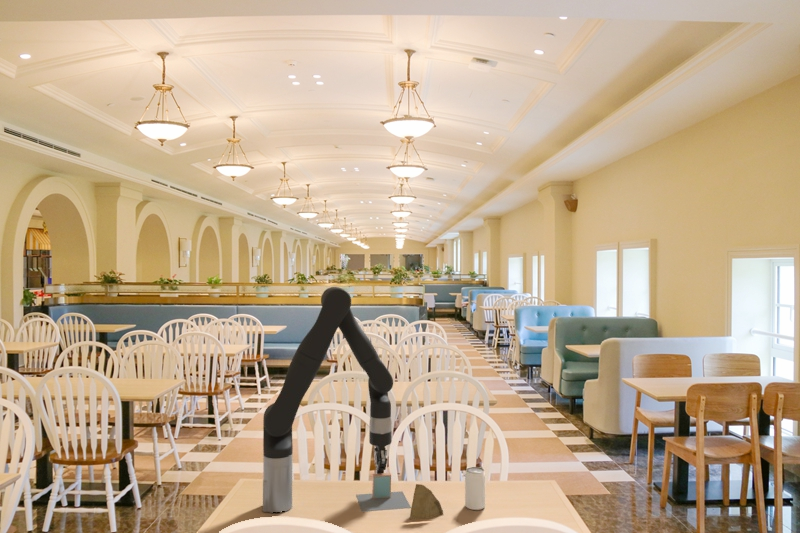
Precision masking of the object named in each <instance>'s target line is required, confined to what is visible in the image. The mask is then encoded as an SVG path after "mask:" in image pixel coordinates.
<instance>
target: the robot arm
mask: <svg viewBox="0 0 800 533" xmlns="http://www.w3.org/2000/svg"><path fill="white" fill-rule="evenodd" d="M320 305H321V308H320V310H319V314H318V316H317V318H316V321H315V322H314V324H313V326H312V327H311V329H310V330H309V331H308V332H307V334H306V335H305V336H304V337H303V339H302V340H301V342H300V343H299V345H298V347H297V349H296V351H295V352H294V355H293V357H292V359H291V362H290V363H289V366H288V369H287V372H286V376H285V378H284V382H283V385H282V387H281V389H280V392H279V394H278V396H277V398H276V399H275V400H274V402H273V403H271V404H269V405H268V406H267V407H266V408H265V411H264V413H263V420H262V421H263V422H262V423H263V424H262V425H263V428H262V429H263V436H262V437H263V440H262V445H263V446H262V447H263V450H262V452H263V456H262V457H263V461H262V462H263V466H262V467H263V468H262V469H263V472H262V473H263V475H262V477H263V478H262V512H263V513H270V514H271V513H272V514H274V513H273V512H280V513H282V512H281V511H285V512H287V511H289V510H291V509H293V449H294V448H293V447H294V446H293V424H294V421H295V419H296V416H297V414H298V410H299V409H300V408H299V407H300V405H301V403H302V401H303V398H304V397H305V394H307V392H308V390H309V388H310V387H311V385H312V384H313V381H314V379H315V378H316V376H317V374H318V371H320V368H321V366H322V364H323V362H324V359H325V357H326V355H327V352H328V351H329V348H330V347H331V346H330V345H331V343H332V340H333V338H334V336H335V334H336V332H337V330H338V329H339V330H340V331H341V334H342V335H343V337H344V338H345V341H346V343H347V344H348V346H349V348H350V350H351V352H352V354H353V355H354V357H355V359H356V361H357V363H358V364H359V366H360V367H361V369H362V370H363V371H364V372H365V373H366V375H367V377H368V379H367V380H368V381H367V382H368V383H367V386H368V387H367V388H368V395H369V400H370V405H369V406H370V407H369V408H370V410H369V412H370V415H369V417H370V418H369V427H368V428H369V432H368V433H369V435H368V436H369V439H368V440H369V444H370V445H372V446H375V447H374V448H373V453H374V464H375V469H376V474H380V473H385V471H386V469H387V463H388V457H387V455H388V449H386V447H387V446H389V445H391V444H392V441H393V440H392V438H393V437H392V436H393V435H392V434H393V433H392V429H393V428H392V427H393V426H392V415H391V414H392V406H391V405H392V403H391V400H390V398H389V392H390V391H391V390H392V388H393V386H394V379H393V376H392V375H391V373H390V371H389V370H388V368H387V367H386V365H385V363H383V361H382V360H381V358H380V357H379V353H378V352H377V351H376V348H375V346H374V345H373V343H372V342H371V340H370V339H369V337H368V336H367V334H366V333H365V331H364V329H362V327H361V326H360V324H359V322H358V321H357V320H356V317H355V315H354V314H353V312H352V309H351V307H352V306H351V305H352V298H351V295H350V293H349V292H348V291H347V290H346V289H344V288H341V287H338V286H332V287H328V288H326V289H325V290H324V291H323V292H322V294H321V296H320Z"/></svg>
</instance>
